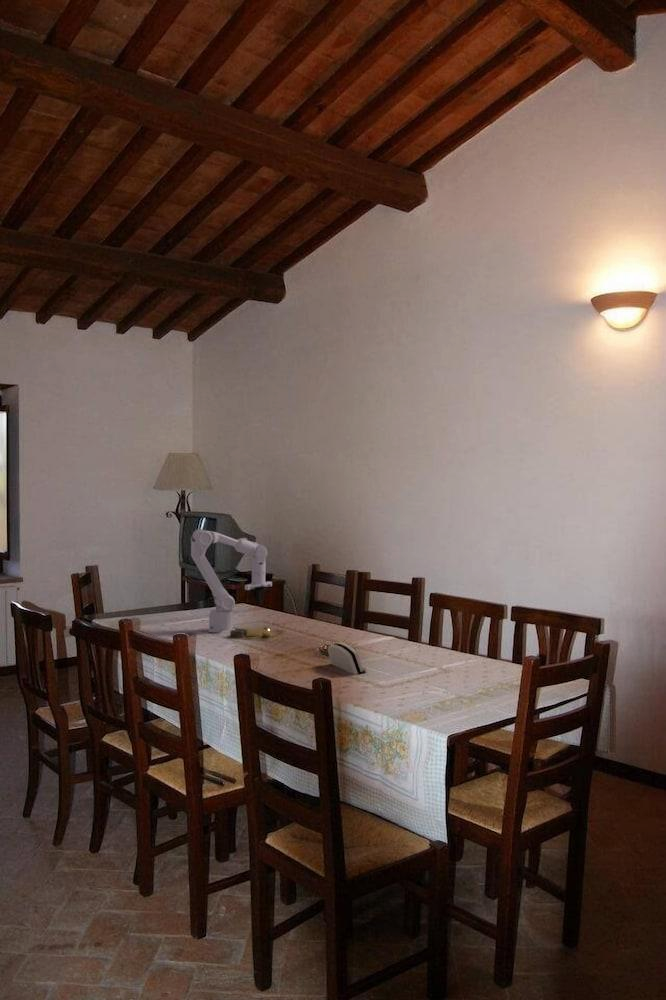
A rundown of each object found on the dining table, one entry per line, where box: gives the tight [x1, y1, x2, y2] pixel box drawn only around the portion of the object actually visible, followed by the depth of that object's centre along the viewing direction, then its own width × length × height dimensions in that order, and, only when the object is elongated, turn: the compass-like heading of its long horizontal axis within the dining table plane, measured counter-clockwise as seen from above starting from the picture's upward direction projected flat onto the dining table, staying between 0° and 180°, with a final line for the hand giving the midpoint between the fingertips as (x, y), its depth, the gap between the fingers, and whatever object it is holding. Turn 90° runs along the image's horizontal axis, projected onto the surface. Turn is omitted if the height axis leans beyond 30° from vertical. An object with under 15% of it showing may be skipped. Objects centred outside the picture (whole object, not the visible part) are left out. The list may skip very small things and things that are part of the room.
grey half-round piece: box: [327, 641, 368, 676], centre depth 288 cm, size 17×5×10 cm, turn 30°
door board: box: [225, 627, 287, 642], centre depth 337 cm, size 19×23×4 cm
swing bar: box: [234, 626, 271, 637], centre depth 332 cm, size 14×3×3 cm, turn 78°
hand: (258, 605), depth 352 cm, fingers closed
